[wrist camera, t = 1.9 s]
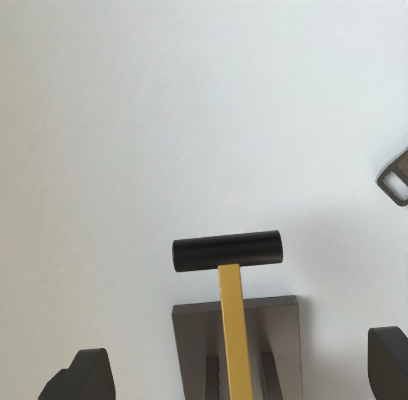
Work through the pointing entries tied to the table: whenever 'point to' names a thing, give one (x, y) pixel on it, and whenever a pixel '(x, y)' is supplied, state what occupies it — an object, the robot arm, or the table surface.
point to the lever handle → (231, 289)
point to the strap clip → (403, 168)
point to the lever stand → (257, 346)
